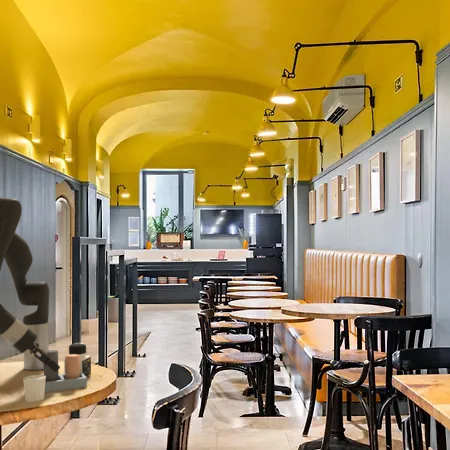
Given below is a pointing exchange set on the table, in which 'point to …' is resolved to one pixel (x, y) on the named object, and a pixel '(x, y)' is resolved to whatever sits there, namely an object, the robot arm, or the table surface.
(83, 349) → the medicine bottle
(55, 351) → the dark gray block
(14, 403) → the table surface
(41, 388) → the white cup
